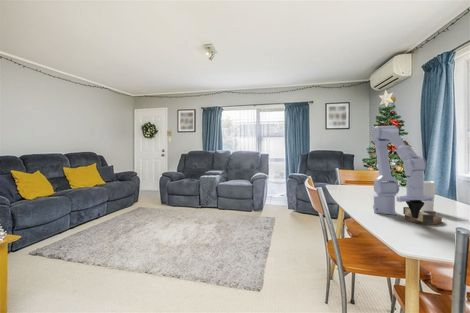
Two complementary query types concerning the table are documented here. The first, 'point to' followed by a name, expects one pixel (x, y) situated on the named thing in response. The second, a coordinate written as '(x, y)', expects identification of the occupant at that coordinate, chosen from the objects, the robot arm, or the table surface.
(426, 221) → the folding leg
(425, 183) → the drinking glass
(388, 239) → the table surface
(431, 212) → the stool seat
